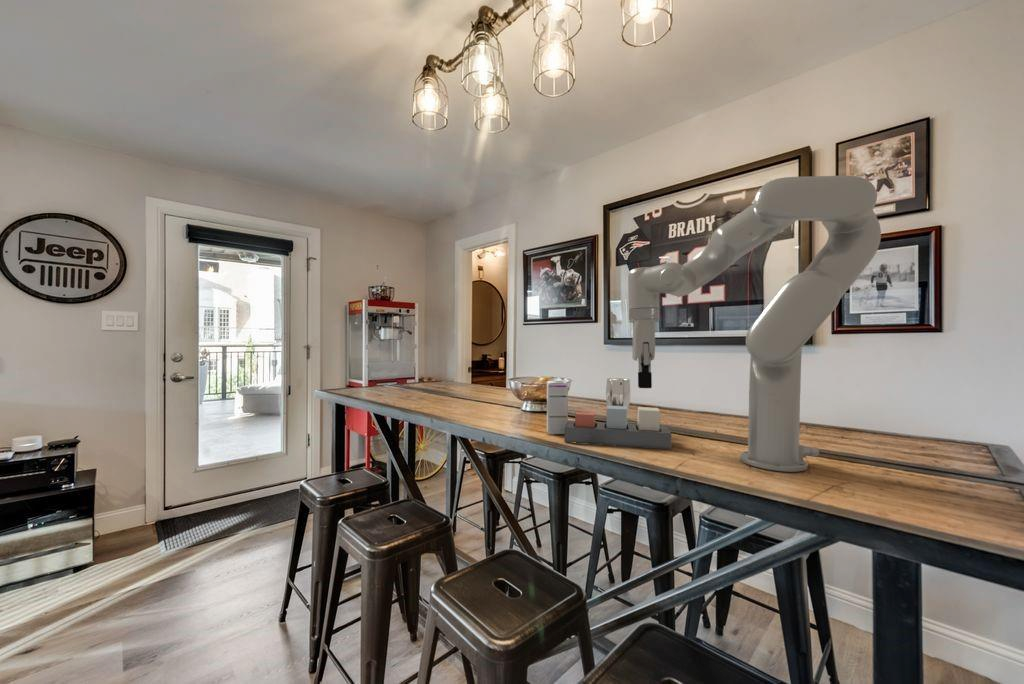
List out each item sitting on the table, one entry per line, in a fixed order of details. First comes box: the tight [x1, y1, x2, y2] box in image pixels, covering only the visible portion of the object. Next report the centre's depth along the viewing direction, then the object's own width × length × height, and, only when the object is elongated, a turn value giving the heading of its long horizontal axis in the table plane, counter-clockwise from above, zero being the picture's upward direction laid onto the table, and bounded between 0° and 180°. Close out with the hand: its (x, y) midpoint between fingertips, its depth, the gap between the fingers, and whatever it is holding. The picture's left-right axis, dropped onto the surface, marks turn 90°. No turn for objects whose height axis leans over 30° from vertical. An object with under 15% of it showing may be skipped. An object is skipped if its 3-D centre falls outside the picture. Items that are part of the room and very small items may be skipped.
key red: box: [574, 410, 596, 428], centre depth 113 cm, size 5×5×5 cm
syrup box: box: [546, 380, 569, 435], centre depth 122 cm, size 6×6×14 cm
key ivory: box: [637, 406, 661, 431], centre depth 110 cm, size 5×5×5 cm
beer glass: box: [605, 377, 631, 415], centre depth 126 cm, size 7×7×15 cm
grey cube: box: [605, 405, 628, 429], centre depth 112 cm, size 5×5×5 cm
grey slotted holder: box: [563, 420, 672, 451], centre depth 112 cm, size 9×26×4 cm, turn 77°
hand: (644, 387), depth 110 cm, fingers closed
